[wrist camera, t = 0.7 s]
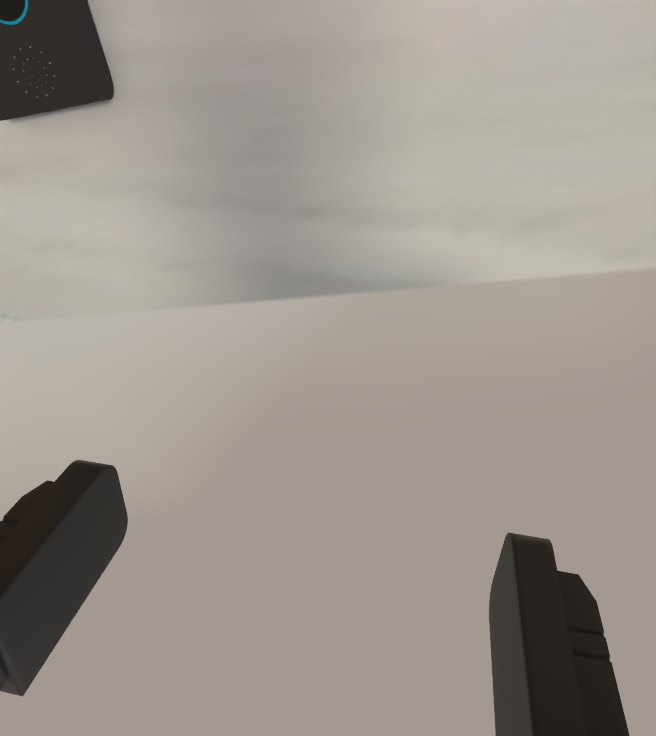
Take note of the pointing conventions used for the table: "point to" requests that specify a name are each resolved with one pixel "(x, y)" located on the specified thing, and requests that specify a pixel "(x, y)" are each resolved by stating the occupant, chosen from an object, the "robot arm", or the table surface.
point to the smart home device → (49, 57)
